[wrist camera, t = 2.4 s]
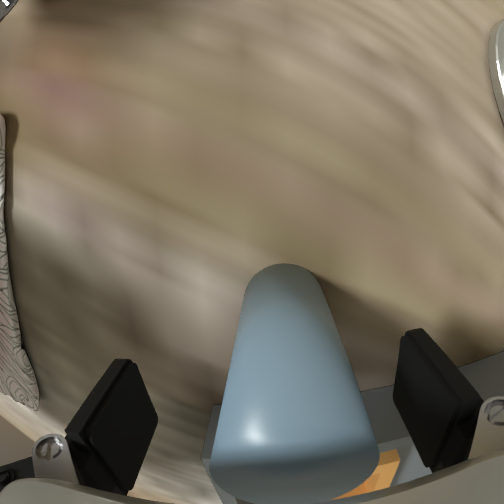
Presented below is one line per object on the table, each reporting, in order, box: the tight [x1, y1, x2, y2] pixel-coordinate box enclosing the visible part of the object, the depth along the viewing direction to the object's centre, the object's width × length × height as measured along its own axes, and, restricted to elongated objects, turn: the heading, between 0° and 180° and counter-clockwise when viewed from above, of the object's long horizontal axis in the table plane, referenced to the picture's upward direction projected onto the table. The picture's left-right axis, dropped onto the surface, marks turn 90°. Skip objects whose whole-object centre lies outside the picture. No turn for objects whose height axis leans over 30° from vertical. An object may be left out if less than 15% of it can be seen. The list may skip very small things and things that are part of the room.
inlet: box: [331, 449, 400, 500], centre depth 17 cm, size 8×8×2 cm
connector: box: [209, 264, 380, 504], centre depth 10 cm, size 4×4×10 cm
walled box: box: [201, 351, 504, 504], centre depth 17 cm, size 22×22×4 cm
